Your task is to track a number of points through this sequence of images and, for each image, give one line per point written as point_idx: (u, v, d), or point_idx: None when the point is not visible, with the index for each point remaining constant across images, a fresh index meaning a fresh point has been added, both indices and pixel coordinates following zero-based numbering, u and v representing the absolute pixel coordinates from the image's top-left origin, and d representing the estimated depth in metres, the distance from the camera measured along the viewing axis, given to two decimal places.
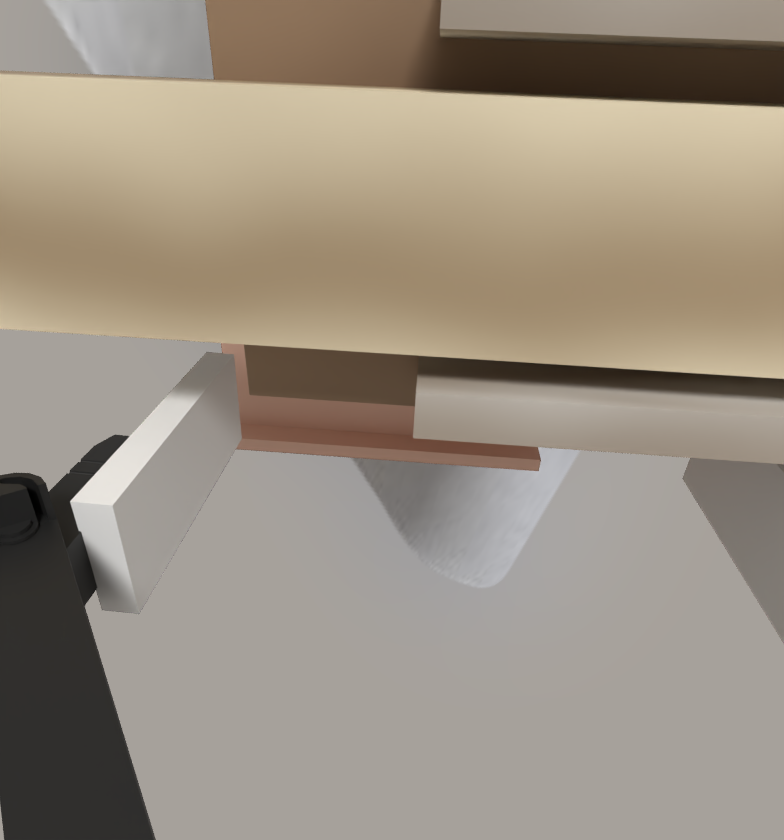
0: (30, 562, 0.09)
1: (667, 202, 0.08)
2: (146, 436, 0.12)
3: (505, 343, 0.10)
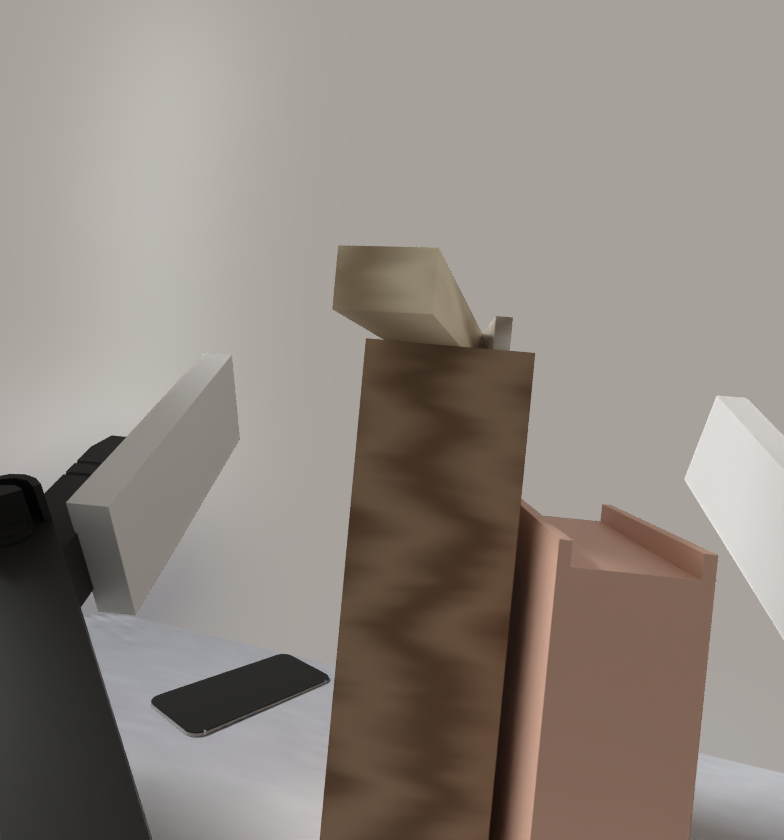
0: (26, 563, 0.09)
1: None
2: (142, 437, 0.12)
3: None
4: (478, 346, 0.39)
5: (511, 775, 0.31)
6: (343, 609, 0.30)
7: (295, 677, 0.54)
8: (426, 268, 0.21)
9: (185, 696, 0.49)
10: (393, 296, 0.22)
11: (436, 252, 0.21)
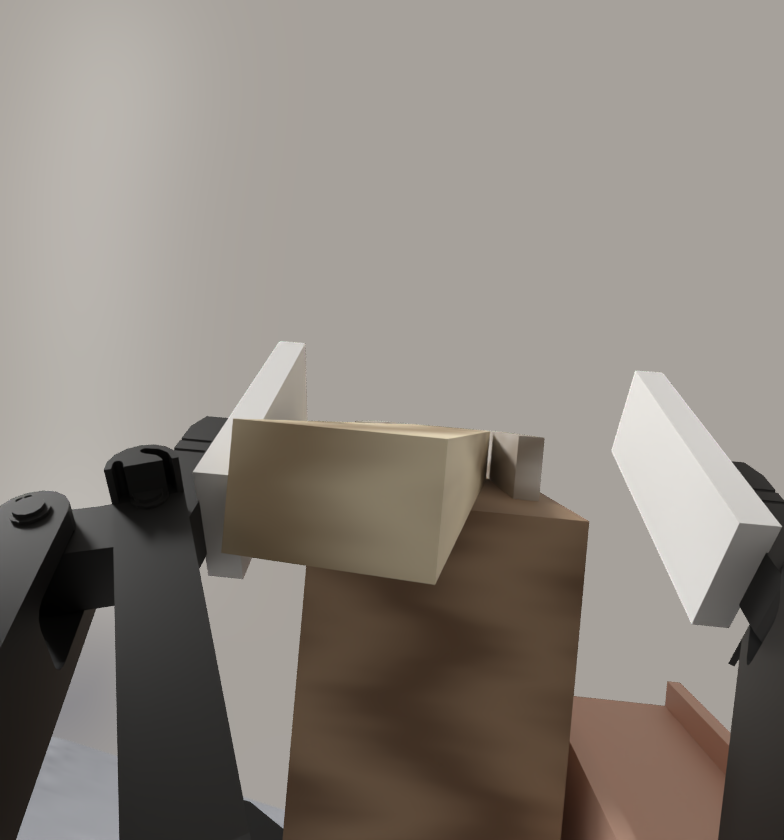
0: (159, 527, 0.10)
1: (424, 426, 0.25)
2: (245, 415, 0.13)
3: (475, 431, 0.23)
4: (486, 455, 0.28)
5: None
6: None
7: None
8: (420, 482, 0.10)
9: None
10: (350, 537, 0.10)
11: (444, 450, 0.10)
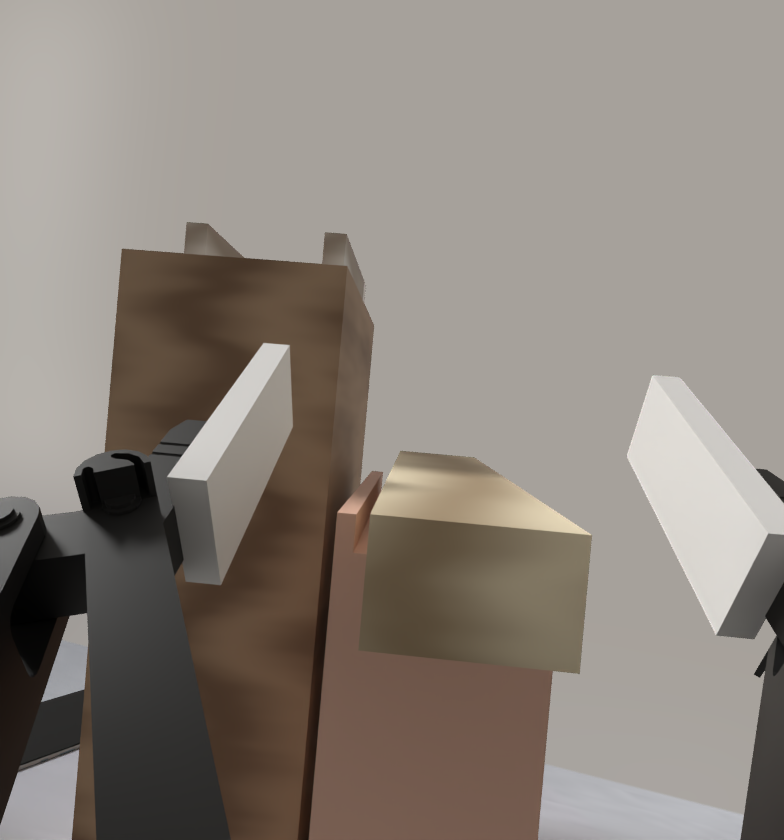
0: (132, 533, 0.09)
1: (425, 459, 0.26)
2: (224, 419, 0.12)
3: (483, 468, 0.24)
4: None
5: None
6: None
7: None
8: (565, 576, 0.10)
9: None
10: (494, 630, 0.10)
11: (588, 545, 0.10)
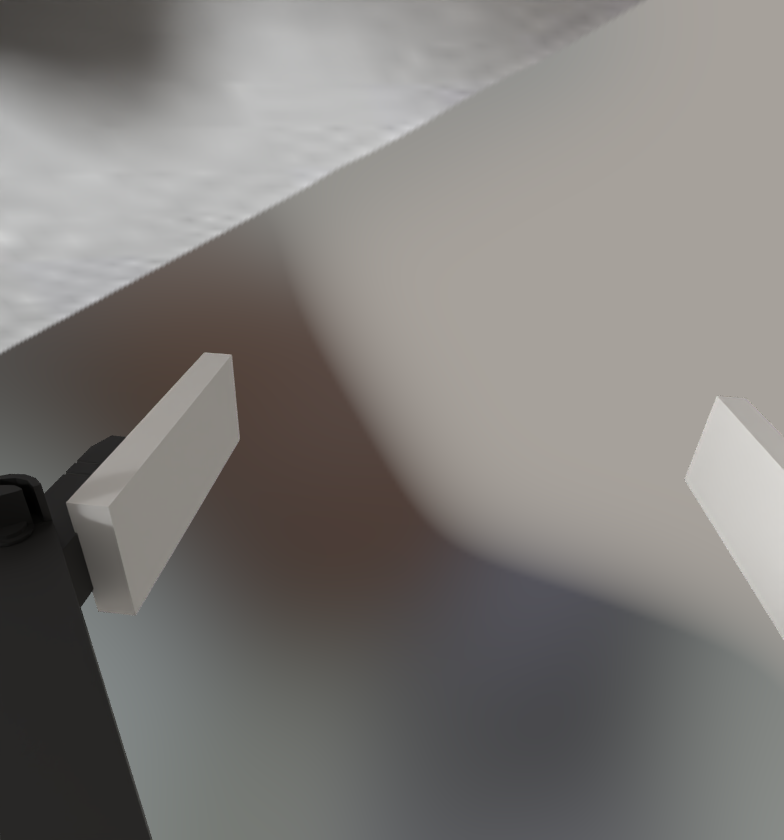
0: (26, 563, 0.09)
1: None
2: (143, 437, 0.12)
3: None
4: None
5: None
6: None
7: None
8: None
9: None
10: None
11: None
